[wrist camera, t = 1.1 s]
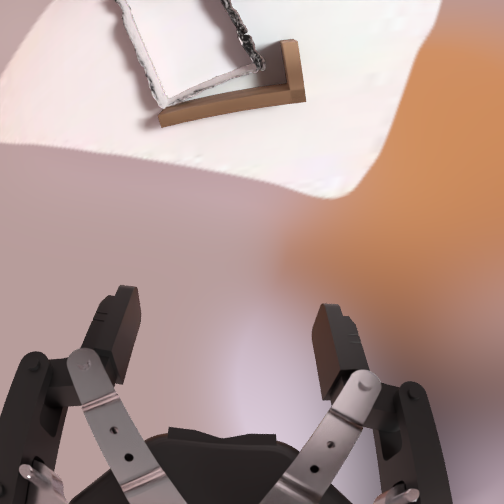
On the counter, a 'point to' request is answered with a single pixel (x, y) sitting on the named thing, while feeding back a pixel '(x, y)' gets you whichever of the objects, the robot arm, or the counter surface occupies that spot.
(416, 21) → the counter surface
